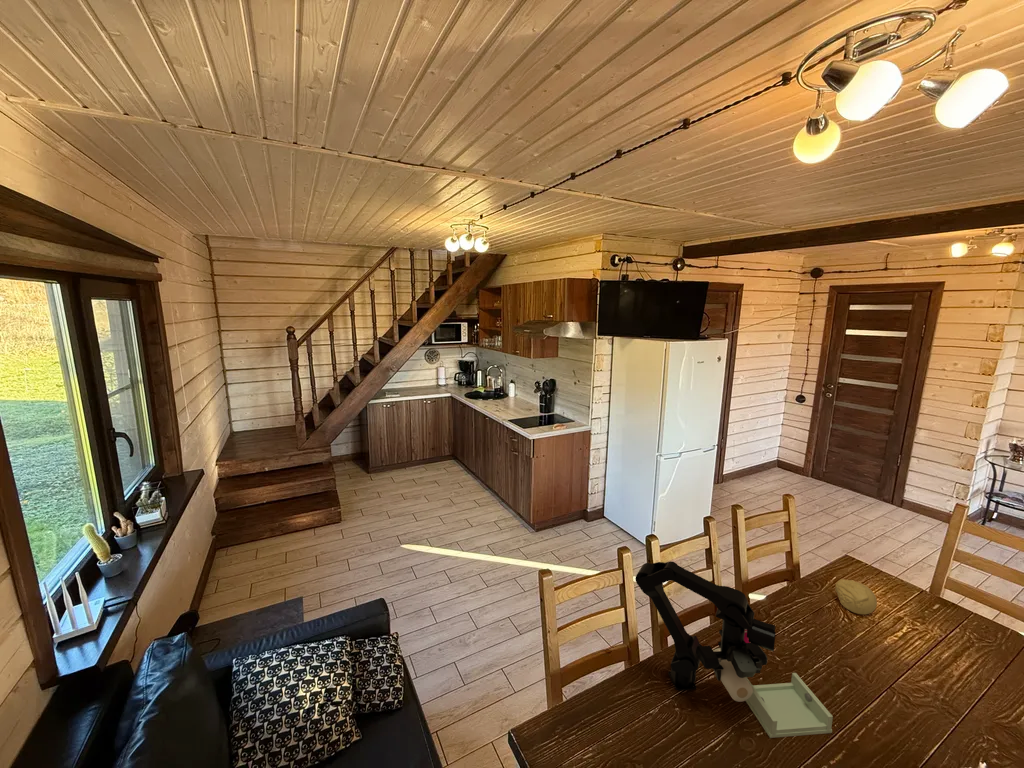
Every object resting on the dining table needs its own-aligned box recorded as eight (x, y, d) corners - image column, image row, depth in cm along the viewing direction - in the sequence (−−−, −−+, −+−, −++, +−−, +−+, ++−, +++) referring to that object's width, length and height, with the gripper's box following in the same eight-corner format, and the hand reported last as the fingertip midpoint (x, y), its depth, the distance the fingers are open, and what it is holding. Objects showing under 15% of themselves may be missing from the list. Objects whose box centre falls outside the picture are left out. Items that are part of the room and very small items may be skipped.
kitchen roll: (752, 702, 118) (754, 682, 117) (730, 703, 117) (732, 684, 116) (727, 664, 130) (728, 646, 129) (707, 665, 130) (708, 648, 129)
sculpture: (828, 599, 168) (831, 575, 166) (855, 596, 169) (858, 572, 167) (854, 620, 156) (857, 594, 154) (882, 617, 158) (886, 592, 156)
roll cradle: (770, 737, 115) (771, 721, 114) (739, 691, 128) (741, 676, 127) (831, 732, 116) (834, 716, 115) (795, 687, 129) (797, 672, 128)
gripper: (717, 658, 112) (713, 707, 115) (783, 654, 113) (777, 702, 116) (696, 627, 123) (693, 672, 126) (756, 623, 124) (752, 668, 127)
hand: (729, 679), depth 124 cm, fingers closed on kitchen roll, 6 cm apart
